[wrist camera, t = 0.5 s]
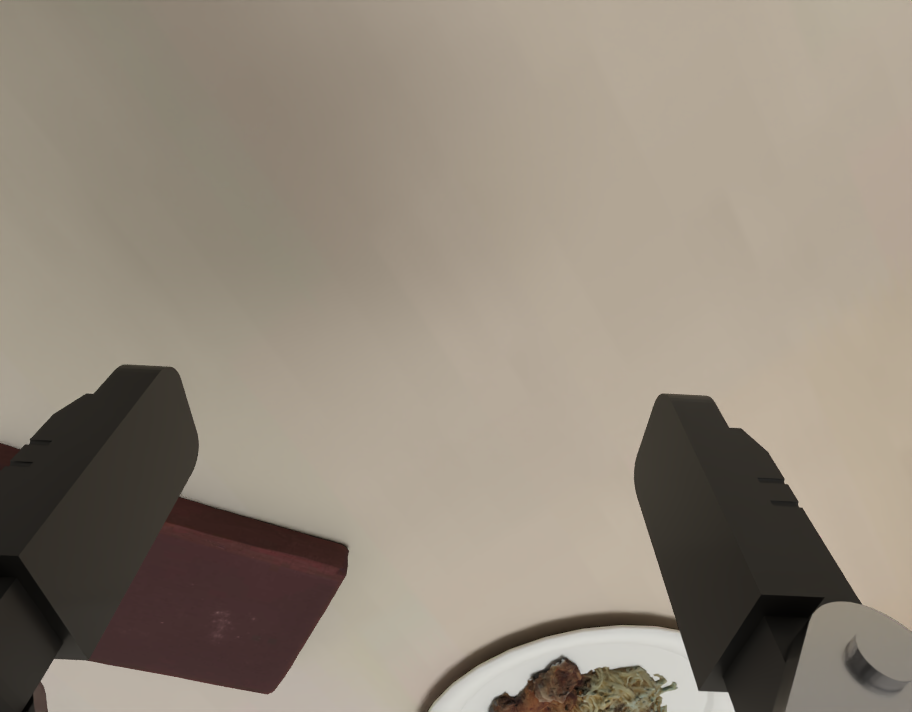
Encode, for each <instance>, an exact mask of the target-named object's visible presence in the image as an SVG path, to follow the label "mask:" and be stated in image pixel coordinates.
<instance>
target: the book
mask: <svg viewBox="0 0 912 712" xmlns="http://www.w3.org/2000/svg"><path fill="white" fill-rule="evenodd" d="M19 451H20V449H17V448H14V447H11V446H8V445H4V444H1V443H0V471H1V470H2V469H3V468H4V467H5V466H8V467H9V466H10V460H11V459H12V458H13V457H14V456H15V455H16V454H17V453H18V452H19ZM348 553H349V550H348V549H347V548H346V547H345V546H344V545H341V544H338V543H335V542H332V541H328V540H324V539H320V538H316V537H313V536H310V535H307V534H304V533H300V532H297V531H293V530H290V529H286V528H282V527H279V526H275V525H272V524H268V523H264V522H261V521H258V520H255V519H252V518H248V517H244V516H240V515H237V514H234V513H231V512H228V511H224V510H219V509H215V508H212V507H210V506H207V505H204V504H201V503H197V502H194V501H191V500H187V499H184V498H181V497H178V499H177V501H176V503H175V505H174V506H173V508H172V510H171V512H170V514H169V515H168V517H167V519H166V521H165V523H164V524H163V526H162V528H161V530H160V532H159V534H158V535H157V537H156V539H155V541H154V543H153V544H152V546H151V548H150V550H149V552H148V553H147V555H146V557H145V559H144V561H143V563H142V564H141V566H140V568H139V570H138V572H137V573H136V575H135V577H134V579H133V581H132V582H131V584H130V586H129V588H128V590H127V592H126V593H125V595H124V597H123V599H122V601H121V602H120V604H119V606H118V608H117V610H116V612H115V613H114V615H113V617H112V619H111V621H110V622H109V624H108V626H107V628H106V630H105V631H104V633H103V635H102V637H101V639H100V641H99V642H98V644H97V646H96V648H95V650H94V651H93V653H92V655H91V657H90V659H89V660H86V661H93V662H98V663H103V664H107V665H113V666H119V667H124V668H130V669H135V670H141V671H146V672H152V673H157V674H163V675H168V676H174V677H179V678H184V679H189V680H193V681H198V682H203V683H208V684H214V685H219V686H224V687H230V688H235V689H241V690H246V691H252V692H257V693H263V694H269V693H272V692H273V691H274V690H275V689H276V688H277V686H278V685H279V684H280V682H281V681H282V680H283V678H284V677H285V675H286V674H287V672H288V671H289V669H290V668H291V666H292V665H293V663H294V661H295V659H296V658H297V656H298V654H299V652H300V651H301V649H302V648H303V646H304V645H305V643H306V641H307V640H308V638H309V636H310V635H311V633H312V631H313V630H314V628H315V626H316V625H317V623H318V622H319V620H320V618H321V617H322V615H323V614H324V612H325V611H326V609H327V607H328V605H329V603H330V602H331V600H332V598H333V597H334V595H335V594H336V592H337V590H338V588H339V586H340V585H341V583H342V581H343V580H344V578H345V576H346V574H347V567H348Z"/></svg>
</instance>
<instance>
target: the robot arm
mask: <svg viewBox="0 0 912 712" xmlns="http://www.w3.org/2000/svg"><path fill="white" fill-rule="evenodd" d="M198 448H199V441H198V434H197V431H196V427H195V424H194V421H193V417H192V414H191V411H190V407H189V404H188V401H187V398H186V394H185V391H184V388H183V384H182V381H181V378H180V375H179V373H178V372H177V371H176V369H174V368H173V367H164V366H145V365H121V366H119V367H118V368H117V369H116V370H115V371H114V372H113V373H112V374H111V375H110V376H109V377H108V378H107V380H106V381H105V382H104V383H103V384H102V385H101V386H100V387H99V389H98V390H97V391H96V392H95V393H94V394H85V395H83V396H82V397H80V398H79V399H77V400H75V401H74V402H72V403H71V404H69V405H67V406H66V407H64V408H63V409H61V410H60V411H58V412H56V413H55V414H53V415H52V416H51V417H50V419H49V420H48V421H47V422H46V423H45V424H44V425H43V426H42V427H41V428H40V429H39V430H38V431H37V432H36V434H35V435H34V436H33V437H32V438H31V439H30V444H29V445H24V446H23V447H22V448H21V450H20V451H19V452H18V453H17V454H16V455H15V456H14V457H13V458H12V459H11V460H10V466H9V467H8V466H5V467H4V468H3V469H2V470H1V471H0V712H48V709H47V701H46V693H45V690H44V686H43V685H42V683H41V679H42V678H43V676H44V674H45V673H46V671H47V669H48V668H49V666H50V664H51V663H52V661H53V660H54V659H71V660H89V659H90V657H91V655H92V653H93V651H94V650H95V648H96V646H97V644H98V642H99V641H100V639H101V637H102V635H103V633H104V631H105V630H106V628H107V626H108V624H109V622H110V621H111V619H112V617H113V615H114V613H115V612H116V610H117V608H118V606H119V604H120V602H121V601H122V599H123V597H124V595H125V593H126V592H127V590H128V588H129V586H130V584H131V582H132V581H133V579H134V577H135V575H136V573H137V572H138V570H139V568H140V566H141V564H142V563H143V561H144V559H145V557H146V555H147V553H148V552H149V550H150V548H151V546H152V544H153V543H154V541H155V539H156V537H157V535H158V534H159V532H160V530H161V528H162V526H163V524H164V523H165V521H166V519H167V517H168V515H169V514H170V512H171V510H172V508H173V506H174V505H175V503H176V501H177V499H178V497H179V495H180V494H181V492H182V490H183V488H184V486H185V485H186V483H187V481H188V479H189V477H190V476H191V474H192V472H193V470H194V467H195V464H196V461H197V456H198ZM634 482H635V490H636V494H637V498H638V501H639V504H640V507H641V511H642V514H643V517H644V520H645V523H646V526H647V529H648V533H649V536H650V539H651V542H652V545H653V548H654V552H655V555H656V558H657V561H658V564H659V567H660V571H661V574H662V577H663V580H664V583H665V586H666V590H667V593H668V596H669V599H670V602H671V605H672V609H673V612H674V615H675V618H676V621H677V624H678V628H679V631H680V634H681V637H682V640H683V643H684V647H685V650H686V653H687V656H688V659H689V662H690V665H691V669H692V672H693V675H694V678H695V681H696V684H697V688H698V691H708V692H728V693H729V696H730V699H731V702H732V705H733V707H734V710H735V712H912V632H911V631H910V630H909V629H907V628H906V627H905V626H903V625H902V624H900V623H899V622H898V621H896V620H894V619H892V618H891V617H889V616H887V615H886V614H884V613H882V612H879V611H877V610H875V609H873V608H870V607H867V606H864V605H862V603H861V602H860V600H859V599H858V597H857V596H856V594H855V593H854V591H853V589H852V588H851V586H850V585H849V583H848V581H847V580H846V578H845V576H844V575H843V573H842V572H841V570H840V568H839V567H838V565H837V563H836V562H835V560H834V559H833V557H832V555H831V554H830V552H829V550H828V549H827V547H826V546H825V544H824V542H823V541H822V539H821V537H820V536H819V534H818V533H817V531H816V529H815V528H814V526H813V524H812V523H811V521H810V520H809V518H808V516H807V515H806V513H805V511H804V510H803V508H799V506H798V500H797V498H796V497H795V495H794V494H793V492H792V490H791V489H790V487H789V485H788V484H784V477H783V476H782V474H781V472H780V471H779V469H778V468H777V466H776V464H775V463H774V461H773V459H772V458H771V456H770V455H769V453H768V452H767V451H766V450H765V449H764V448H763V447H762V446H760V445H759V444H758V443H757V442H756V441H755V440H754V439H753V438H751V437H750V436H749V435H748V434H747V433H746V432H745V431H743V430H742V429H741V428H729V427H728V425H727V423H726V421H725V420H724V418H723V416H722V414H721V413H720V411H719V409H718V407H717V405H716V404H715V402H714V401H713V399H712V398H711V397H709V396H701V395H682V394H661V395H659V396H658V397H657V399H656V401H655V403H654V406H653V409H652V412H651V415H650V418H649V421H648V424H647V427H646V430H645V433H644V436H643V439H642V442H641V445H640V448H639V451H638V454H637V457H636V461H635V468H634Z"/></svg>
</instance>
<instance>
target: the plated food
mask: <svg viewBox="0 0 912 712" xmlns="http://www.w3.org/2000/svg"><path fill="white" fill-rule="evenodd" d="M428 712H735V710H734V707H733V705H732V702H731V699H730V696H729V693H728V692H708V691H698V688H697V684H696V681H695V678H694V675H693V672H692V669H691V665H690V662H689V659H688V656H687V653H686V650H685V647H684V643H683V640H682V637H681V634H680V631H679V630H675V629H669V628H664V627H658V626H635V625H616V626H606V627H595V628H585V629H579V630H575V631H570V632H566V633H561V634H556V635H552V636H547V637H544V638H541V639H538V640H535V641H532V642H529V643H526V644H524V645H521V646H518V647H515V648H512V649H509V650H507V651H505V652H503V653H501V654H499V655H497V656H495V657H493V658H491V659H489V660H487V661H485V662H483V663H481V664H479V665H478V666H476V667H475V668H473V669H472V670H471V671H469V672H468V673H466V674H465V675H463V676H462V677H461V678H459V679H458V680H456V681H455V682H453V683H452V684H451V685H450V686H449V687H448V688H447V689H446V690H445V691H444V692H443V693H442V694H441V695H440V696H439V697H438V698H437V699H436V700H435V701H434V703H433V704H432V706H431V707H430V709H429V711H428Z"/></svg>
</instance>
